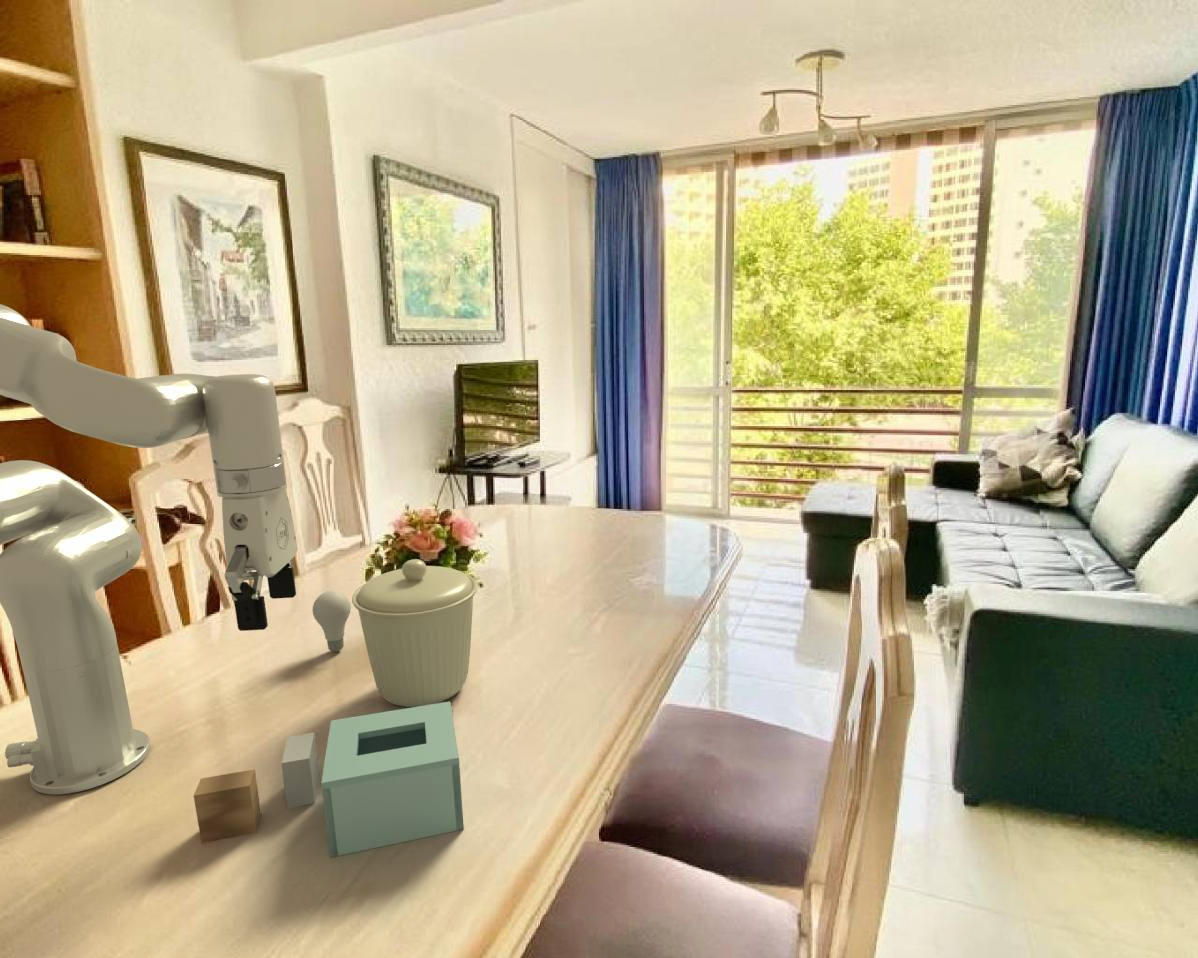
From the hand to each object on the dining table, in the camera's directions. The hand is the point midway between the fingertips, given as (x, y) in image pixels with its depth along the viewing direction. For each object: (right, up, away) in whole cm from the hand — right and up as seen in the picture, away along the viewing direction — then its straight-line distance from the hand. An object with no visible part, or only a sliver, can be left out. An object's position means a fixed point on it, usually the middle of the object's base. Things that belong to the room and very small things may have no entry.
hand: (269, 612), depth 86 cm
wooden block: (0, -23, -9) cm, 24 cm away
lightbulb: (-4, -13, +33) cm, 36 cm away
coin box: (+18, -22, -6) cm, 29 cm away
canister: (+14, -16, +20) cm, 30 cm away
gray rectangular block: (+5, -21, -2) cm, 22 cm away
